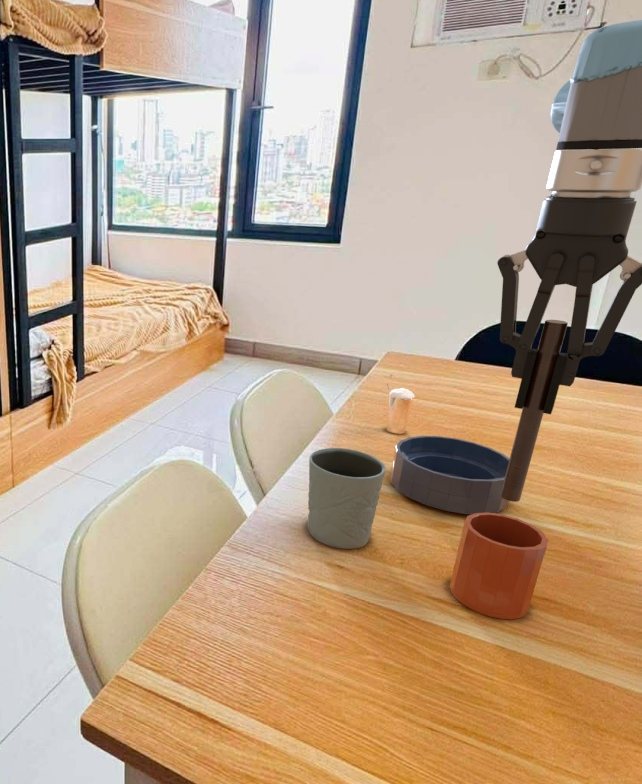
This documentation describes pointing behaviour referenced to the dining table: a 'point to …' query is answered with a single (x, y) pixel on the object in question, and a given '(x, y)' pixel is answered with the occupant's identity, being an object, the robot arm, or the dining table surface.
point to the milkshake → (399, 409)
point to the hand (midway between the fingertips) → (533, 407)
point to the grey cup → (343, 496)
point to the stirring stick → (533, 409)
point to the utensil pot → (497, 565)
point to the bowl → (450, 474)
